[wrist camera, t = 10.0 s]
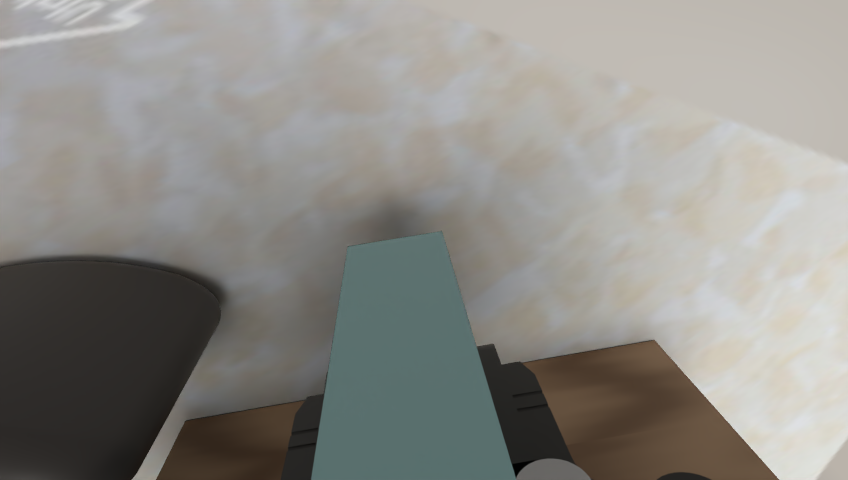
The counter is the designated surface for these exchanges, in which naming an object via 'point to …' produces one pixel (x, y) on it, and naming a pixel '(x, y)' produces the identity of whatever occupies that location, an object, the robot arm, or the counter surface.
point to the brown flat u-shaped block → (570, 405)
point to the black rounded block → (93, 364)
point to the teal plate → (406, 374)
